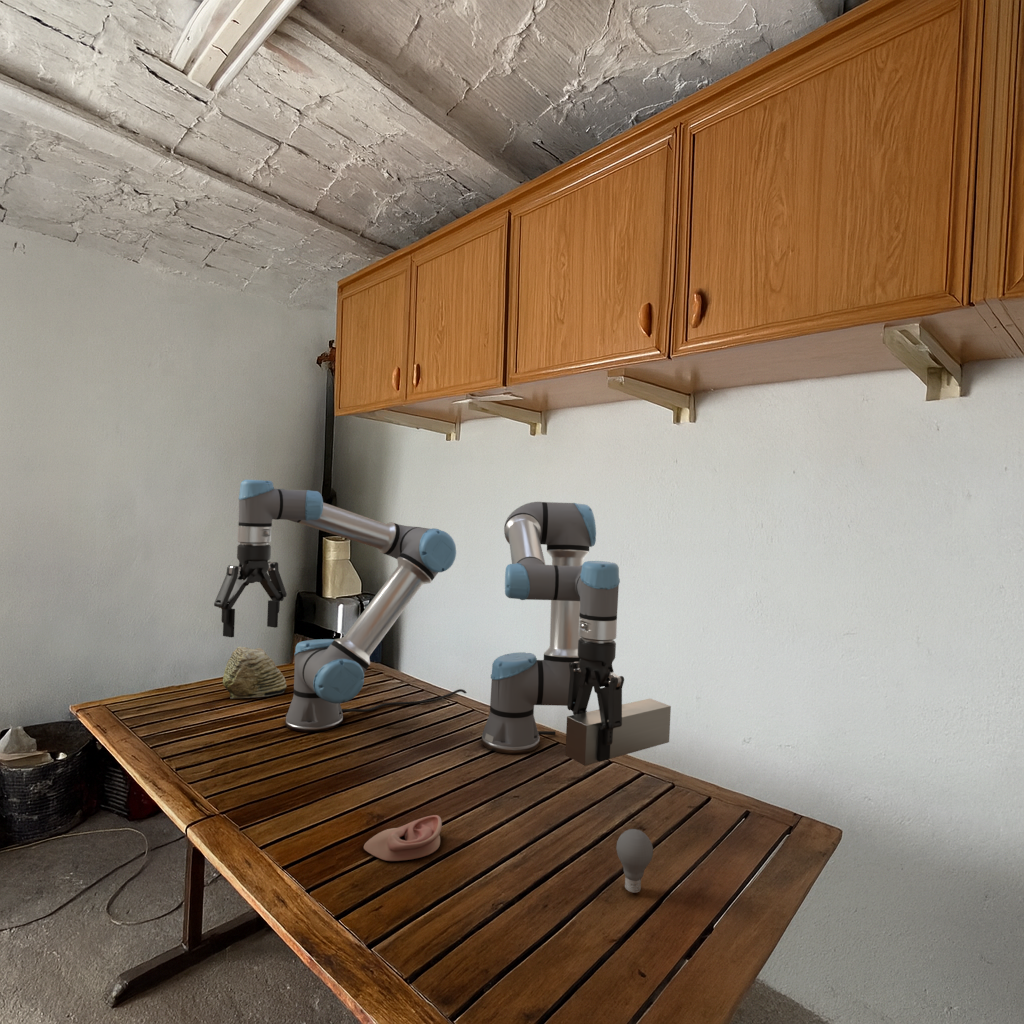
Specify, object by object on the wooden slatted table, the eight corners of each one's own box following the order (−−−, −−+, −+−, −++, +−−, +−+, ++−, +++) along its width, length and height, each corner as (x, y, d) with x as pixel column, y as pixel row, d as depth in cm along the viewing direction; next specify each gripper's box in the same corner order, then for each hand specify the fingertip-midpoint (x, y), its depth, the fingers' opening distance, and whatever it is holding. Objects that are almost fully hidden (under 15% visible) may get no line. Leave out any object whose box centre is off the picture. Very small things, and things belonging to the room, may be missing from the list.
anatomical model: (356, 833, 112) (382, 804, 123) (355, 856, 112) (381, 824, 123) (428, 845, 109) (448, 813, 121) (427, 868, 109) (447, 834, 121)
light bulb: (610, 879, 108) (613, 822, 108) (644, 879, 109) (647, 822, 109) (619, 902, 102) (622, 840, 102) (655, 901, 103) (658, 840, 103)
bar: (648, 733, 141) (650, 698, 141) (669, 742, 136) (671, 705, 136) (565, 755, 127) (566, 716, 127) (585, 766, 122) (586, 725, 122)
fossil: (218, 695, 195) (220, 647, 195) (278, 685, 208) (279, 640, 207) (228, 703, 189) (230, 653, 188) (289, 692, 201) (290, 645, 201)
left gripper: (223, 547, 140) (220, 643, 140) (303, 542, 163) (299, 624, 163) (199, 545, 143) (195, 638, 143) (280, 540, 166) (277, 621, 166)
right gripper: (552, 631, 132) (547, 741, 133) (617, 651, 117) (611, 775, 117) (579, 628, 136) (574, 735, 137) (645, 647, 121) (640, 767, 122)
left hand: (251, 631), depth 153 cm, fingers open, 13 cm apart
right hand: (591, 753), depth 127 cm, fingers closed on bar, 6 cm apart
